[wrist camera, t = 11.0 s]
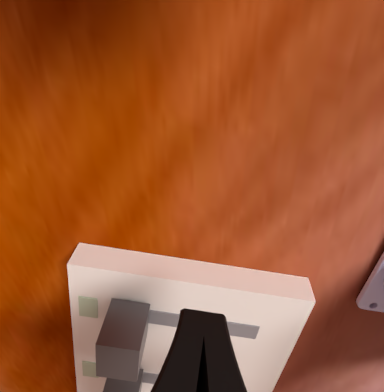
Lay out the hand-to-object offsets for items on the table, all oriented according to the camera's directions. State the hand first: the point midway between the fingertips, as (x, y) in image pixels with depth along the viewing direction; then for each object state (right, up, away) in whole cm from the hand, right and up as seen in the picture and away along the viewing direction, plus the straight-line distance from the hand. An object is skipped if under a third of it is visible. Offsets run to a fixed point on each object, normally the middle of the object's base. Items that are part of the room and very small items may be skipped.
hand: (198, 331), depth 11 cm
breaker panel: (-2, -9, +16) cm, 19 cm away
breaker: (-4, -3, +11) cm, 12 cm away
